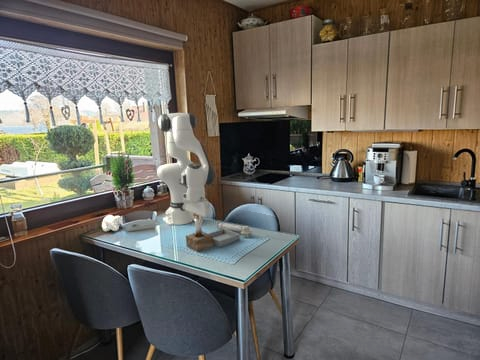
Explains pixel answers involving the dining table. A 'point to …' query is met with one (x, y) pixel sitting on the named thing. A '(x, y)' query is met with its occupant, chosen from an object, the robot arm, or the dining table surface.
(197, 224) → the pin
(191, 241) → the hitch block
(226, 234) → the tray
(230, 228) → the electric toothbrush
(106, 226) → the white knot
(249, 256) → the dining table surface
